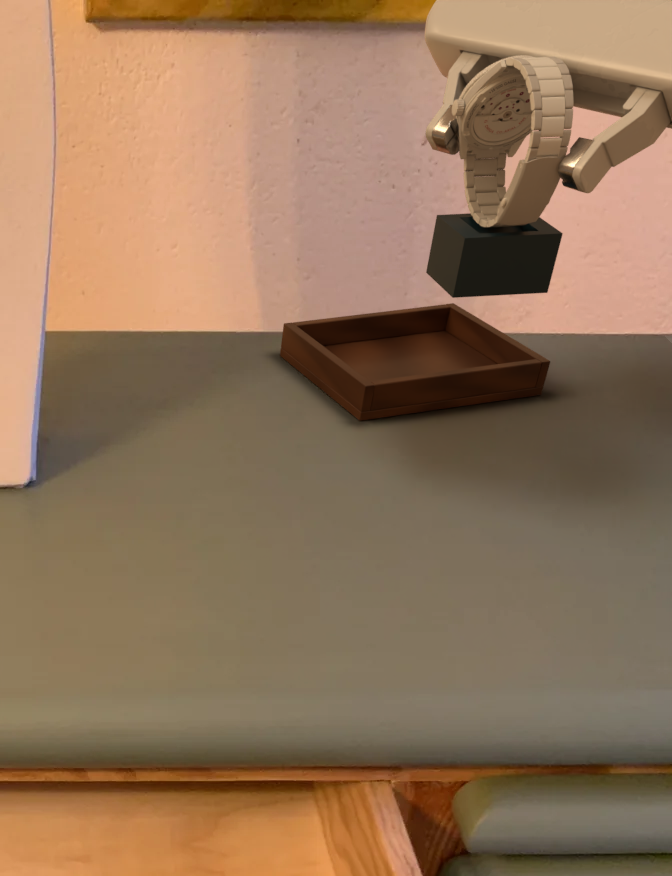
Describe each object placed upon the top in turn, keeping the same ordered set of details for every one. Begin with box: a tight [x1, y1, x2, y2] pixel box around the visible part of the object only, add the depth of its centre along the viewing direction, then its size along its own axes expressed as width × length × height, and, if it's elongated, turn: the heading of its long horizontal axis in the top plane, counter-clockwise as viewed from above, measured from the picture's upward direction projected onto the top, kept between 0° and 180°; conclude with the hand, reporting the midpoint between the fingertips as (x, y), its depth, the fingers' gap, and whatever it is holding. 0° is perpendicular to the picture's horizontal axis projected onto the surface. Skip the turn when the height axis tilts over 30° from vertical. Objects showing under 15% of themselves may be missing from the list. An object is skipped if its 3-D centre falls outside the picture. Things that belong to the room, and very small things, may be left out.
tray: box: [279, 302, 551, 422], centre depth 83 cm, size 14×12×2 cm
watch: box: [425, 55, 574, 299], centre depth 62 cm, size 6×8×11 cm
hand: (500, 163), depth 62 cm, fingers closed on watch, 8 cm apart
